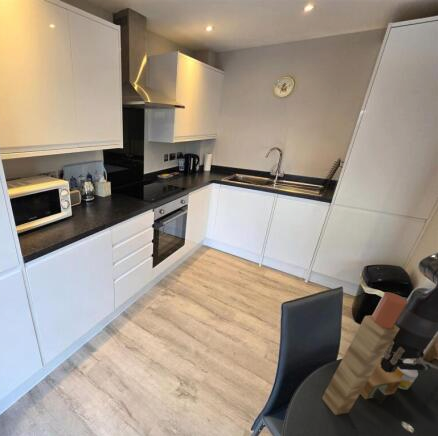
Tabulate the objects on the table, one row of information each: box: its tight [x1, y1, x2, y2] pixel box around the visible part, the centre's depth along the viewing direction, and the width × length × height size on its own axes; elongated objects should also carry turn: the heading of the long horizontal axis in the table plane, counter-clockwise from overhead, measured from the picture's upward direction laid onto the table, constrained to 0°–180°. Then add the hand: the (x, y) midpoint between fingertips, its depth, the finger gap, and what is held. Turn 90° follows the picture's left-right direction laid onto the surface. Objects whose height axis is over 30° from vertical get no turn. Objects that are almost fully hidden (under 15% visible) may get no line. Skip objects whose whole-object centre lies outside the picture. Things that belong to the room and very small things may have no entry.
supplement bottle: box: [395, 359, 419, 390], centre depth 84 cm, size 5×5×10 cm
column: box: [321, 314, 400, 416], centre depth 71 cm, size 5×5×35 cm
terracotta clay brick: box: [371, 291, 408, 329], centre depth 63 cm, size 4×4×8 cm
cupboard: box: [359, 359, 403, 400], centre depth 83 cm, size 12×7×7 cm, turn 101°
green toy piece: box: [369, 384, 388, 404], centre depth 78 cm, size 5×3×5 cm, turn 101°
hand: (385, 369), depth 71 cm, fingers closed
